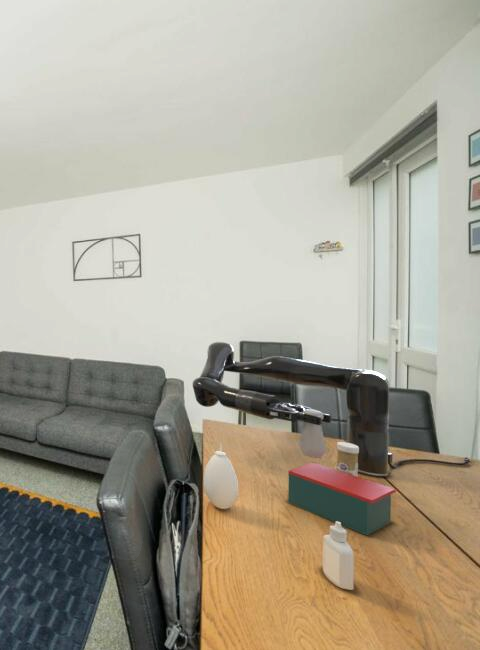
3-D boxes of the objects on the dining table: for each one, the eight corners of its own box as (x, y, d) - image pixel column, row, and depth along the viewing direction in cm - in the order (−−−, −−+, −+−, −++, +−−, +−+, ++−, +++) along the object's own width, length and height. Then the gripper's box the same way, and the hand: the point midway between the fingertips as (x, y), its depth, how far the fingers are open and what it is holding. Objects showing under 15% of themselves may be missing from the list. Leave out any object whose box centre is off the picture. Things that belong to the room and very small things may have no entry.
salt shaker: (332, 460, 98) (333, 414, 98) (307, 458, 99) (308, 413, 99) (316, 451, 104) (317, 407, 104) (293, 450, 105) (294, 406, 105)
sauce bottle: (231, 501, 101) (232, 439, 100) (243, 517, 93) (243, 450, 93) (200, 497, 103) (200, 436, 103) (208, 512, 96) (208, 446, 96)
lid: (395, 492, 90) (395, 489, 90) (371, 503, 85) (372, 500, 85) (312, 464, 105) (312, 462, 105) (288, 473, 100) (288, 470, 100)
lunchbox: (390, 522, 91) (391, 490, 91) (366, 535, 86) (367, 501, 86) (312, 492, 105) (312, 465, 105) (288, 502, 100) (288, 473, 100)
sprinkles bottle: (334, 487, 108) (335, 443, 108) (338, 482, 111) (338, 440, 110) (356, 493, 104) (357, 448, 104) (359, 489, 107) (360, 445, 107)
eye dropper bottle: (321, 581, 72) (322, 523, 72) (322, 567, 76) (323, 512, 76) (353, 594, 69) (354, 533, 69) (352, 578, 73) (353, 521, 73)
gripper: (242, 394, 112) (312, 410, 96) (269, 390, 117) (339, 404, 101) (242, 418, 112) (311, 437, 96) (269, 412, 117) (339, 429, 102)
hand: (325, 420), depth 99 cm, fingers closed on salt shaker, 4 cm apart
